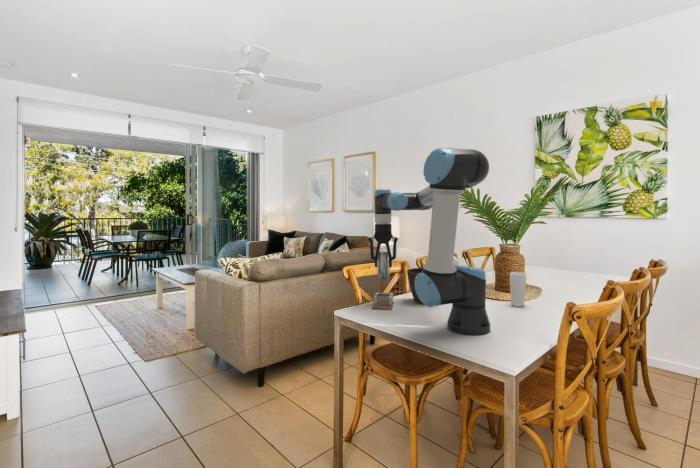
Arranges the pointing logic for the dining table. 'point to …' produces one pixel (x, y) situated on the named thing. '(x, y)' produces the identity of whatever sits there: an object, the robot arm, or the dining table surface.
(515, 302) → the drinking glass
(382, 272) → the pin
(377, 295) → the socket board
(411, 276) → the plant pot
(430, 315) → the dining table surface
